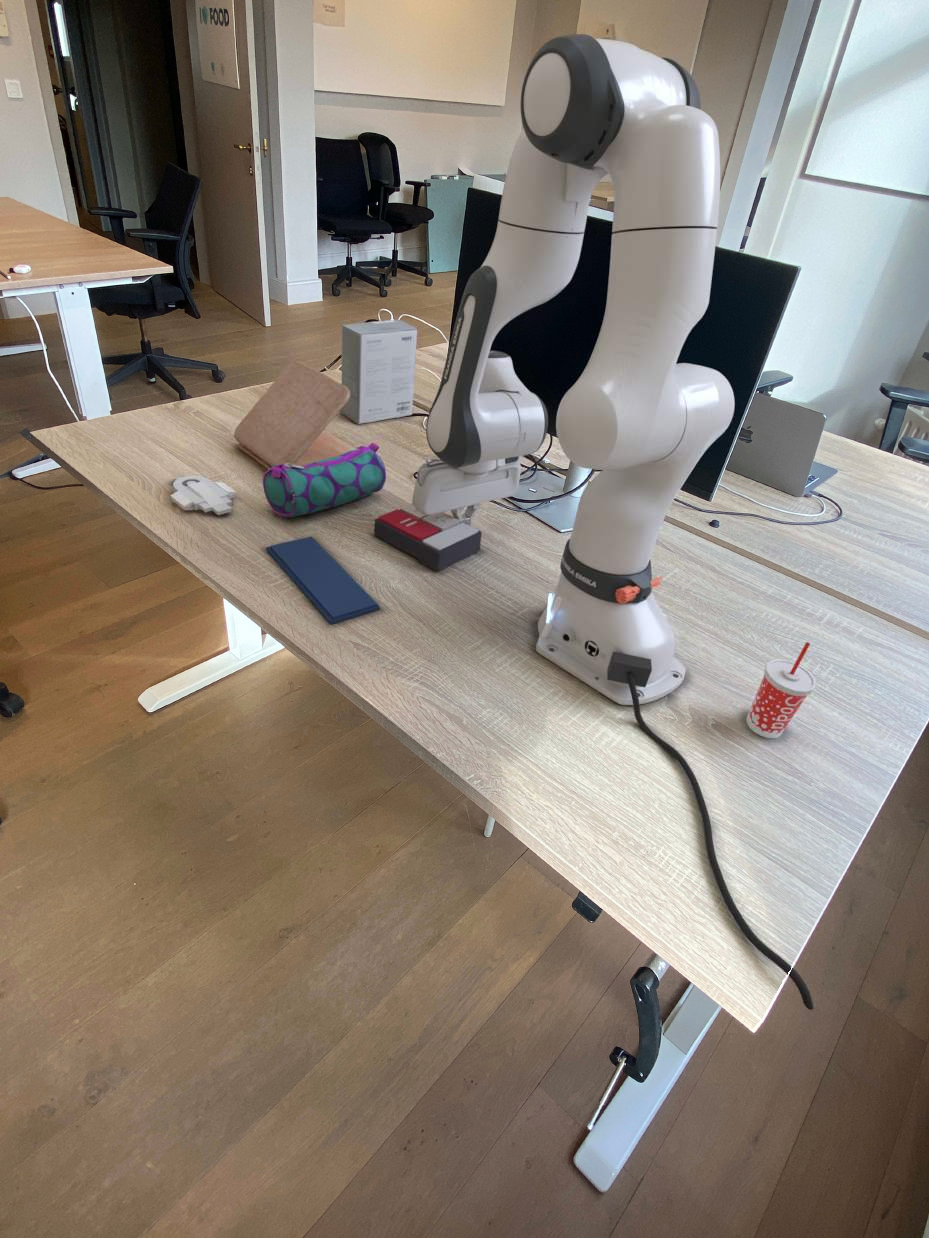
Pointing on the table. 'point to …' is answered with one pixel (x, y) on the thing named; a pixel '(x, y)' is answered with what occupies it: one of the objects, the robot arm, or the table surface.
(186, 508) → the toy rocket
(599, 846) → the table surface
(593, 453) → the robot arm
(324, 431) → the case
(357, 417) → the hard drive box
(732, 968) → the table surface
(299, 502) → the pencil case
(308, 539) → the flat dark blue box
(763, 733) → the beverage cup
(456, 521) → the red and grey box
